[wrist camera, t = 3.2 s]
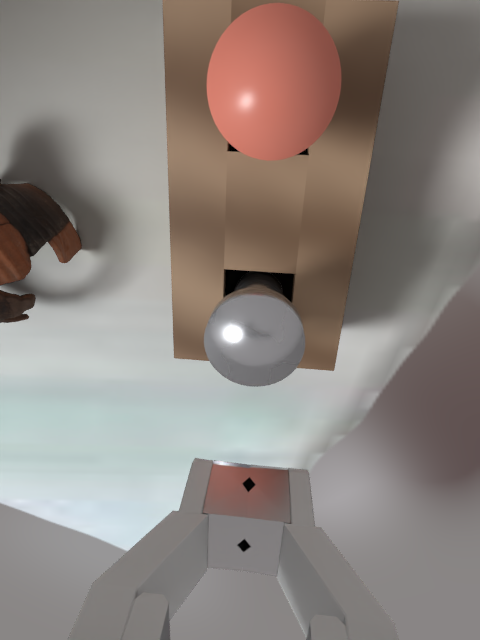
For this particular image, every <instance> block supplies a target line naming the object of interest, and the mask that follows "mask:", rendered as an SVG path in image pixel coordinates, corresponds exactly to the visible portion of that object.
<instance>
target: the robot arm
mask: <svg viewBox="0 0 480 640" xmlns="http://www.w3.org/2000/svg"><path fill="white" fill-rule="evenodd" d="M207 568H215V569H225V570H236V571H246V572H252V573H258V574H265V575H271V576H277V580H278V582H279V584H280V585H281V588H282V590H283V592H284V594H285V596H286V598H287V600H288V602H289V604H290V606H291V608H292V610H293V612H294V614H295V616H296V618H297V620H298V622H299V625H300V626H301V628H302V631H303V632H304V635H305V637H306V640H399V639H398V635H397V631H396V627H395V623H394V622H393V620H392V619H391V618H390V616H389V615H388V614H387V613H386V611H385V610H384V609H383V607H382V606H381V605H380V603H379V602H378V601H377V600H376V598H375V597H374V596H373V595H372V593H371V592H370V591H369V589H368V588H367V587H366V585H365V584H364V583H363V581H362V580H361V579H360V577H359V576H358V575H357V574H356V572H355V571H354V570H353V568H352V567H351V566H350V564H349V563H348V562H347V560H346V559H345V558H344V557H343V555H342V554H341V553H340V551H339V550H338V549H337V547H336V546H335V545H334V544H333V542H332V541H331V540H330V539H329V537H328V536H327V534H326V533H325V532H324V531H323V529H322V528H320V527H315V521H314V513H313V504H312V496H311V486H310V477H309V472H308V470H302V469H291V468H280V467H270V466H259V465H247V464H239V463H231V462H224V461H216V460H214V461H212V460H205V459H198V458H195V459H194V461H193V462H192V466H191V469H190V473H189V476H188V480H187V483H186V487H185V491H184V494H183V498H182V501H181V505H180V508H179V511H172V512H171V513H170V514H169V515H168V516H166V517H165V518H164V519H163V520H162V521H161V522H160V523H159V524H158V525H156V526H155V527H154V528H153V529H152V530H151V531H150V532H149V533H148V534H146V535H145V536H144V537H143V538H142V539H141V540H140V541H139V542H138V543H136V544H135V545H134V546H133V547H132V548H131V549H130V550H129V551H128V552H126V553H125V554H124V555H123V556H122V557H121V558H120V559H119V560H118V561H117V562H115V563H114V564H113V565H112V566H111V567H110V568H109V569H108V570H107V571H105V572H104V573H103V574H102V575H101V576H100V577H99V578H98V579H97V580H95V581H94V582H93V583H92V585H91V588H90V590H89V592H88V595H87V597H86V599H85V601H84V603H83V606H82V608H81V610H80V612H79V615H78V617H77V619H76V622H75V624H74V626H73V628H72V631H71V633H70V635H69V637H68V640H170V620H171V618H172V617H173V616H174V614H175V613H176V612H177V610H178V609H179V608H180V606H181V605H182V604H183V602H184V601H185V599H186V598H187V597H188V595H189V594H190V593H191V591H192V590H193V589H194V587H195V586H196V585H197V583H198V582H199V581H200V579H201V578H202V577H203V575H204V574H205V572H206V571H207Z"/></svg>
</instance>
